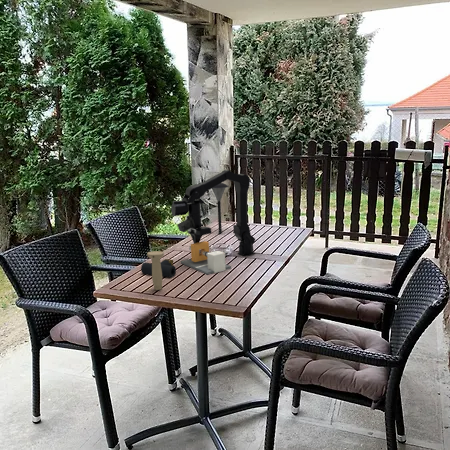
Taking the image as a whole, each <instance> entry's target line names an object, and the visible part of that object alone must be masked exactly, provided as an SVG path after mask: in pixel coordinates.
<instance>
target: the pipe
mask: <svg viewBox="0 0 450 450" xmlns="http://www.w3.org/2000/svg"><path fill="white" fill-rule="evenodd" d="M188 249H189V251H191V245H190V246H189V248H188ZM207 253H210V251H209V252H206V251H204V250H201V249H200V250H199V254H202V255H205V256H206V257H207Z"/></svg>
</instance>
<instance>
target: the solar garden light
mask: <svg viewBox="0 0 450 450" xmlns="http://www.w3.org/2000/svg"><path fill="white" fill-rule="evenodd" d="M229 187H230V186H229V185H227V184H225V183H224V182H222V183H220V184H218V185H217V186H215V187H213V188H211V191H212V193H213V195H214V196H215V198H216V200H217V220H218V221H217V223H218V234H219V235H222V233H223V231H222V230H223V229H222V207H221V206H222V205H221V201H222V198H223V196H224V192H225V190H226V188H229Z"/></svg>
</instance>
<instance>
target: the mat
mask: <svg viewBox="0 0 450 450" xmlns="http://www.w3.org/2000/svg"><path fill="white" fill-rule="evenodd" d="M180 264H182V265H184V266H186V267H189V268H191V269H193V270H196V271H198V272H199V273H200V272H201V273H203V274H205V275H212V274H215V273H214V271H213V270H211V269H208V259H206V260H202V261H198V262H193V261H192V259H191V258H189V259H185V260H181V261H180ZM225 268H226V270H230V269H232V265H229V264H226V263H225ZM226 270H225V271H226Z"/></svg>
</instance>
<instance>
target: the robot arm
mask: <svg viewBox="0 0 450 450" xmlns="http://www.w3.org/2000/svg"><path fill="white" fill-rule="evenodd" d="M228 180H229V181H230V182H233V187H234V189H235V191H236V211H237V212H236V214H237V215H236V219H237V220H236V221H237V222H236V224H233V225H232V226H233V227H232V228H233V231H232V233H233V234H234V237H235V238H236V239H237V241H239V242H238V243H239V245H238V252H237V254H238V255H241V256H243V257H248V256H250V255H255V254H256V252H254V244H255V242H256V238H255V237H254V236H253V235H252V234H251V228H250V226H249V225H250V224H248V204H247V203H248V201H247V199H248V191H249V189H250V183H251V179H250V177H249V175H247V174H244V173H235V172H232V171H230V170H227V169H224V170H222V171H220V172H219V173H218V174H215V175H214V176H212V177H210V178H207V180H205V181H203V182H200V183H196V184H192V185H190V186H188V187H187V188H186V190H185V194H184V195H183V196H182V198H181V200H173V201H172V204H171V208H170V209H171V214H172V215H171V216H173V217H178V216H185V219H184V220H183V221H181V222H179V223H178V224H177V225H176V226H177V228H178V230H179V232H182V233H187V234H188V235H190V237H191V239H192V242H193V244H194V243H199V242H201V240H202V239H201V238H202V237H203V236H206V235H210V234H212V233H213V232H212V228H211V227H209V226H204V224H203V223H202V219H203V217H204V216H203V214H202V213H201V205H202V204H205V201H204V200H203V199H202V197H204V195H205V194H206V193H207V192H208V191H209V190H212V188H213V187H215V186H217V185H218V184H220V183H224V182H225V181H228Z"/></svg>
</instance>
